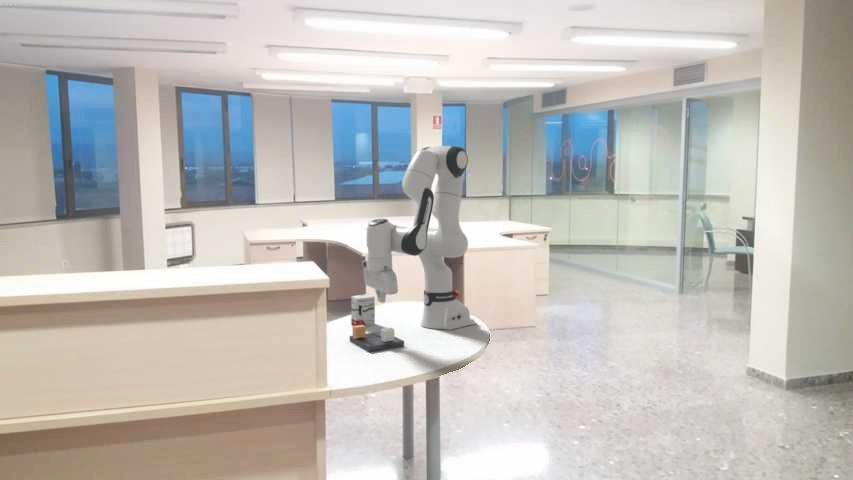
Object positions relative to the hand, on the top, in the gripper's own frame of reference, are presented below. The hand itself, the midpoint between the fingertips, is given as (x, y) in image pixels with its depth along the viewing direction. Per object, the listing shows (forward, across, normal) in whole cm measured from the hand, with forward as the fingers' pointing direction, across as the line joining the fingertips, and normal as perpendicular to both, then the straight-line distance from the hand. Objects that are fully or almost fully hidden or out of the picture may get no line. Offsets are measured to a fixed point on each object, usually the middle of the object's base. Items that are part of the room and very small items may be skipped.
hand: (381, 301), depth 236 cm
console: (+15, -2, +3) cm, 15 cm away
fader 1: (+12, +3, +8) cm, 15 cm away
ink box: (+16, +26, -4) cm, 31 cm away
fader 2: (+13, -6, +1) cm, 14 cm away
